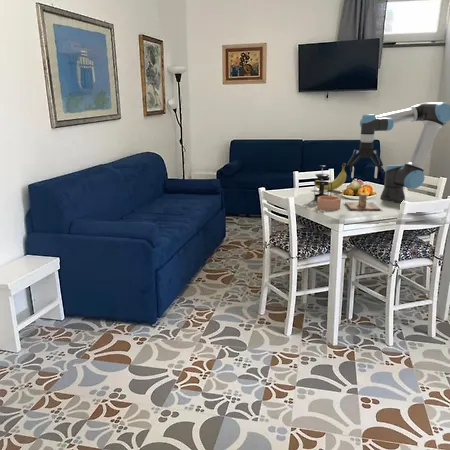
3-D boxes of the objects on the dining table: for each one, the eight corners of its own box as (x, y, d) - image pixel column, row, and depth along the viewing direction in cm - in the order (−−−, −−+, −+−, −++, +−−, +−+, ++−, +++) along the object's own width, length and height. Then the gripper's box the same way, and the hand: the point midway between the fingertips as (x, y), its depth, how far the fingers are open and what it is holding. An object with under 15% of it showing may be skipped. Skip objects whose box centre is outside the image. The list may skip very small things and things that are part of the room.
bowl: (337, 205, 277) (338, 195, 276) (341, 210, 265) (341, 200, 263) (316, 205, 278) (316, 195, 277) (319, 210, 266) (319, 200, 264)
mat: (374, 204, 279) (374, 203, 279) (383, 212, 260) (383, 211, 259) (342, 204, 280) (342, 203, 280) (348, 212, 261) (348, 211, 261)
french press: (313, 201, 290) (315, 166, 284) (312, 198, 299) (313, 164, 293) (331, 201, 289) (333, 166, 282) (329, 198, 298) (331, 164, 291)
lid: (372, 204, 277) (374, 191, 275) (380, 210, 261) (381, 197, 259) (345, 204, 279) (346, 191, 276) (350, 210, 262) (351, 196, 260)
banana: (313, 190, 325) (314, 163, 320) (313, 189, 330) (315, 162, 325) (345, 191, 320) (347, 163, 315) (345, 189, 326) (347, 162, 320)
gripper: (386, 141, 262) (383, 176, 268) (343, 141, 264) (341, 176, 269) (390, 142, 255) (387, 179, 260) (346, 142, 257) (343, 178, 262)
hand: (363, 177), depth 265 cm, fingers open, 13 cm apart
